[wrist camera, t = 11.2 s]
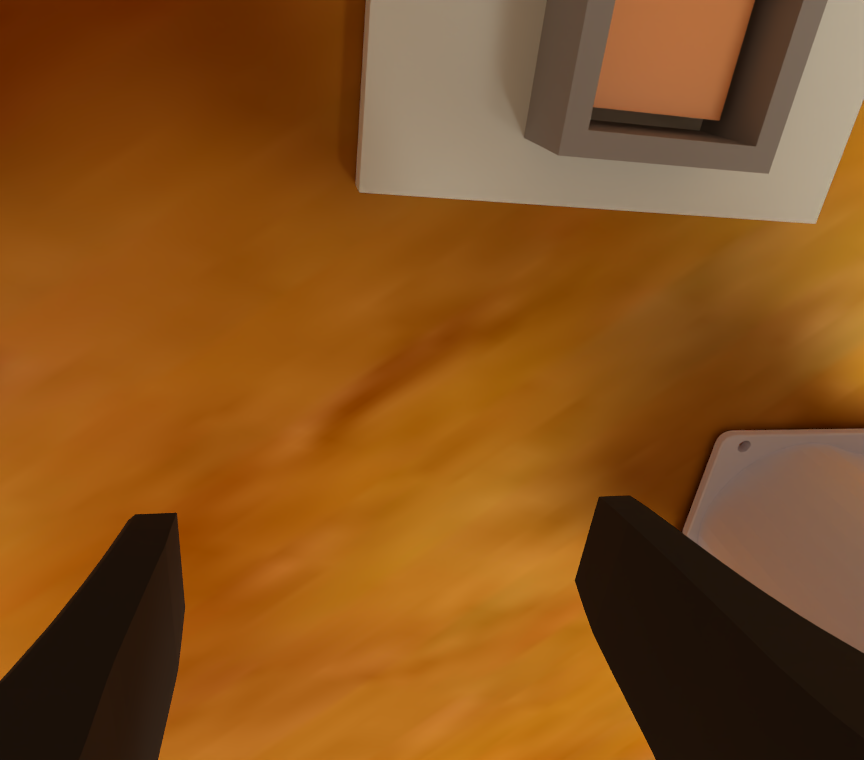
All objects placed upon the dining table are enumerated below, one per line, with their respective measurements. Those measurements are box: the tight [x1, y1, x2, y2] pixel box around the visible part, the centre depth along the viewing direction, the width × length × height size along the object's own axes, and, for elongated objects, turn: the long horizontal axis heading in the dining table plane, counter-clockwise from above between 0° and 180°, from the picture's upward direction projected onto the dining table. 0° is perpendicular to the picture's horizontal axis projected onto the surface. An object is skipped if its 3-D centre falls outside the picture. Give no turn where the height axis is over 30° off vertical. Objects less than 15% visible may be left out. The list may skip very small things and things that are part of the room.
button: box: [593, 0, 755, 121], centre depth 16 cm, size 4×4×1 cm
